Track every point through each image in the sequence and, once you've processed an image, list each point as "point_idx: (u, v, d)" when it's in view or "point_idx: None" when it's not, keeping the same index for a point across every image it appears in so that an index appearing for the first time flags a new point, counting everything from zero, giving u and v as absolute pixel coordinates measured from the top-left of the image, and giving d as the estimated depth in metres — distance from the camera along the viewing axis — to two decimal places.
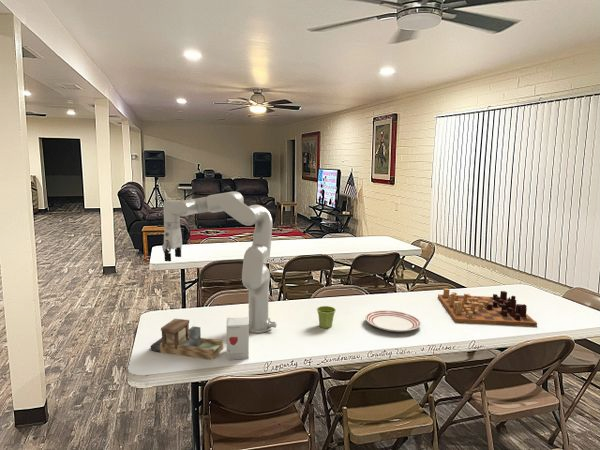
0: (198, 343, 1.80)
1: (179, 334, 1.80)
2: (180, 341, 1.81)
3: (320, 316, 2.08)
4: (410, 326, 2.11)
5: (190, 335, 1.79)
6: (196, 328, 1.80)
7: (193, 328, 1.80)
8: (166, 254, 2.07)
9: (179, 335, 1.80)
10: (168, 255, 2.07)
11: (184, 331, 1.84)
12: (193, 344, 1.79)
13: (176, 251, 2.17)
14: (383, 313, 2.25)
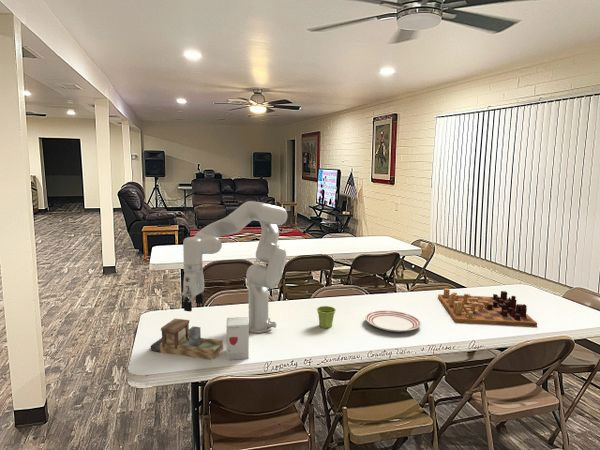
0: (198, 343, 1.80)
1: (179, 334, 1.80)
2: (180, 341, 1.81)
3: (320, 316, 2.08)
4: (410, 326, 2.11)
5: (190, 335, 1.79)
6: (196, 328, 1.80)
7: (193, 328, 1.80)
8: (186, 303, 1.72)
9: (179, 335, 1.80)
10: (188, 304, 1.72)
11: (184, 331, 1.84)
12: (193, 344, 1.79)
13: (197, 297, 1.82)
14: (383, 313, 2.25)
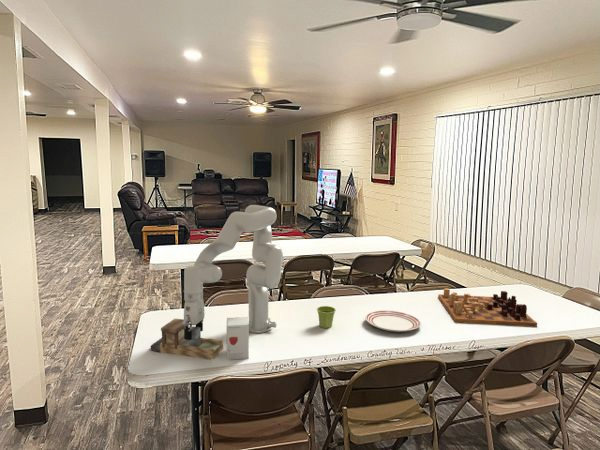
0: (198, 343, 1.80)
1: (179, 334, 1.80)
2: (180, 341, 1.81)
3: (320, 316, 2.08)
4: (410, 326, 2.11)
5: None
6: (196, 328, 1.80)
7: (193, 328, 1.80)
8: (186, 332, 1.74)
9: (179, 335, 1.80)
10: (189, 333, 1.74)
11: None
12: (193, 344, 1.79)
13: (197, 324, 1.84)
14: (383, 313, 2.25)
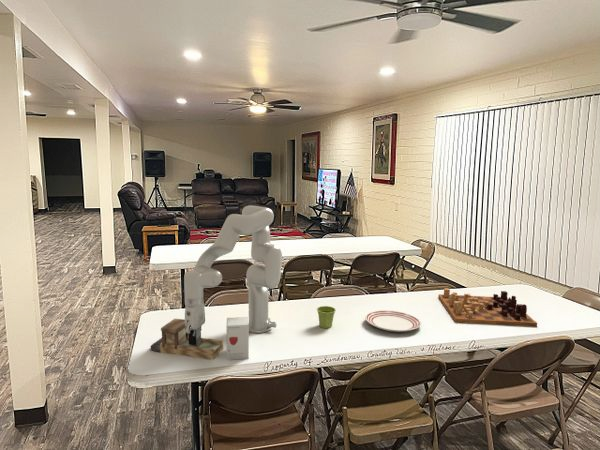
0: (198, 343, 1.80)
1: (179, 334, 1.80)
2: (180, 341, 1.81)
3: (320, 316, 2.08)
4: (410, 326, 2.11)
5: None
6: None
7: None
8: (191, 337, 1.77)
9: (179, 335, 1.80)
10: (193, 338, 1.78)
11: (184, 331, 1.84)
12: None
13: None
14: (383, 313, 2.25)
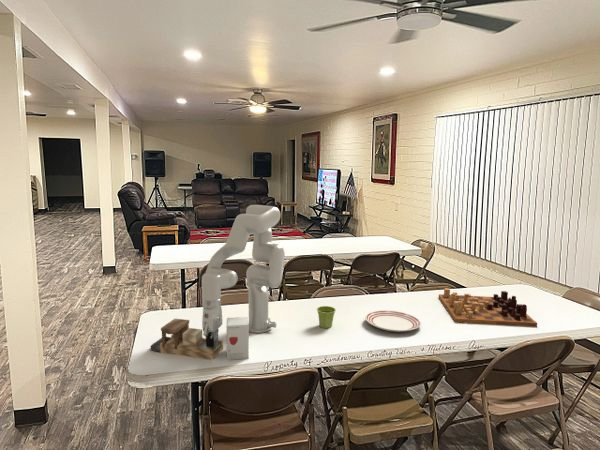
0: (215, 345, 1.78)
1: (196, 336, 1.78)
2: (197, 343, 1.79)
3: (320, 316, 2.08)
4: (410, 326, 2.11)
5: None
6: None
7: None
8: (208, 339, 1.76)
9: (196, 337, 1.78)
10: (211, 340, 1.76)
11: (201, 333, 1.82)
12: None
13: None
14: (383, 313, 2.25)
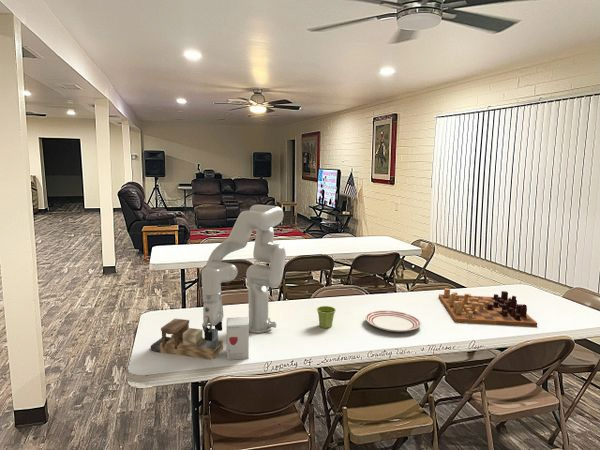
0: (215, 345, 1.78)
1: (196, 336, 1.78)
2: (197, 343, 1.79)
3: (320, 316, 2.08)
4: (410, 326, 2.11)
5: None
6: (214, 330, 1.78)
7: None
8: (206, 333, 1.73)
9: (196, 337, 1.78)
10: (209, 334, 1.73)
11: (201, 333, 1.82)
12: (211, 346, 1.77)
13: (216, 324, 1.83)
14: (383, 313, 2.25)
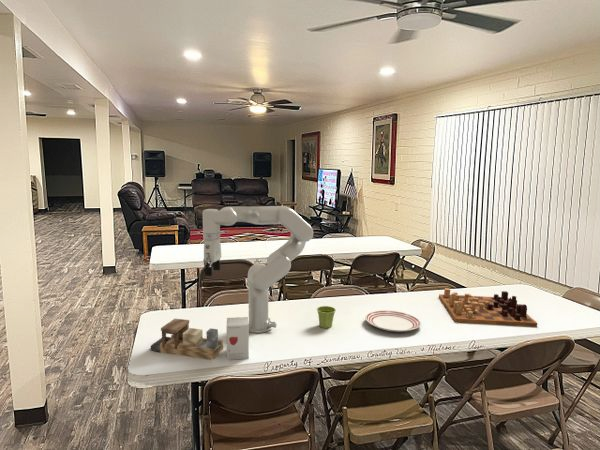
0: (215, 345, 1.78)
1: (196, 336, 1.78)
2: (197, 343, 1.79)
3: (320, 316, 2.08)
4: (410, 326, 2.11)
5: (208, 337, 1.77)
6: (214, 330, 1.78)
7: (210, 330, 1.78)
8: (207, 268, 1.91)
9: (196, 337, 1.78)
10: (209, 269, 1.91)
11: (201, 333, 1.82)
12: (211, 346, 1.77)
13: (214, 264, 2.01)
14: (383, 313, 2.25)
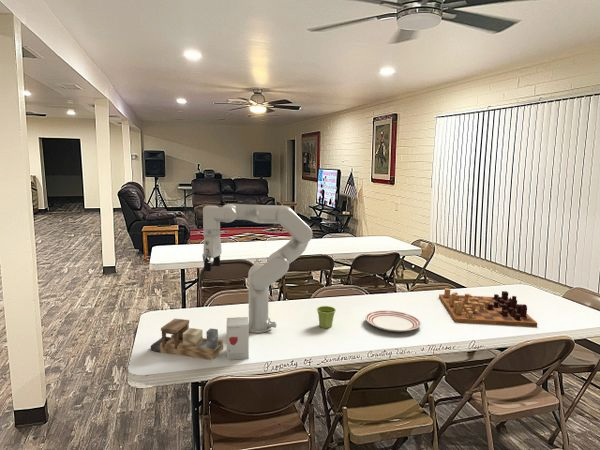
0: (215, 345, 1.78)
1: (196, 336, 1.78)
2: (197, 343, 1.79)
3: (320, 316, 2.08)
4: (410, 326, 2.11)
5: (208, 337, 1.77)
6: (214, 330, 1.78)
7: (210, 330, 1.78)
8: (206, 264, 1.93)
9: (196, 337, 1.78)
10: (208, 265, 1.94)
11: (201, 333, 1.82)
12: (211, 346, 1.77)
13: (215, 260, 2.04)
14: (383, 313, 2.25)
